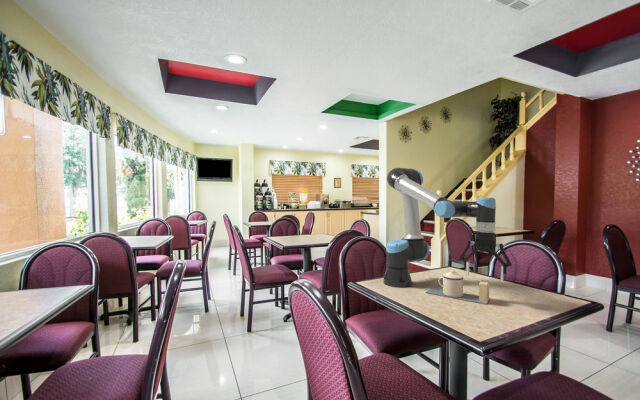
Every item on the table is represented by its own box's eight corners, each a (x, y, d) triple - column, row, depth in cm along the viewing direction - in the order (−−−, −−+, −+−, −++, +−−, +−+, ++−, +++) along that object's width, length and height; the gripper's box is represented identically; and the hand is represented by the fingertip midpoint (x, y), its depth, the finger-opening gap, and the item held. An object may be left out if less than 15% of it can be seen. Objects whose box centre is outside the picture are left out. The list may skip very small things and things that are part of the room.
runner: (425, 293, 138) (425, 275, 139) (431, 288, 146) (431, 271, 146) (486, 304, 123) (486, 285, 123) (489, 298, 131) (489, 280, 131)
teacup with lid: (467, 295, 134) (467, 270, 134) (456, 299, 129) (456, 273, 129) (444, 288, 144) (444, 266, 144) (433, 292, 139) (433, 268, 139)
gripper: (453, 229, 132) (452, 274, 132) (518, 234, 117) (517, 285, 117) (457, 228, 138) (456, 271, 138) (519, 233, 123) (518, 281, 123)
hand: (484, 278), depth 128 cm, fingers open, 13 cm apart
